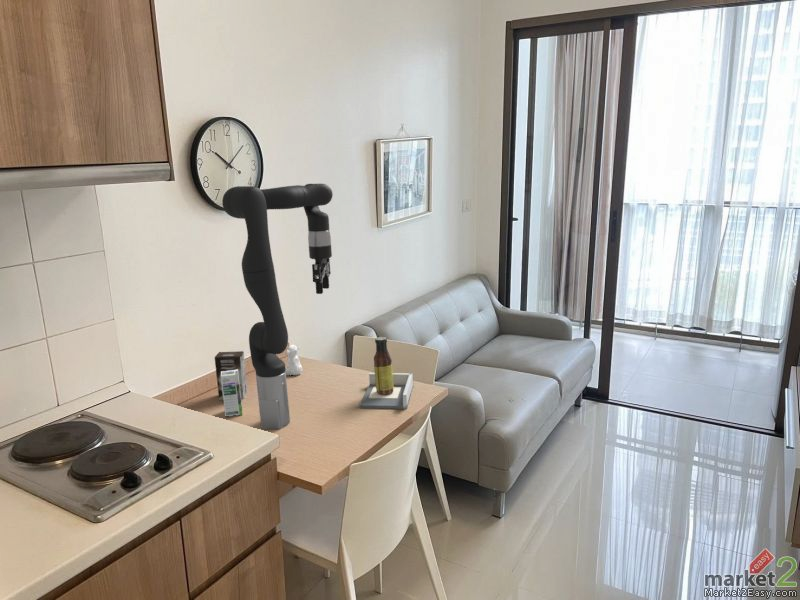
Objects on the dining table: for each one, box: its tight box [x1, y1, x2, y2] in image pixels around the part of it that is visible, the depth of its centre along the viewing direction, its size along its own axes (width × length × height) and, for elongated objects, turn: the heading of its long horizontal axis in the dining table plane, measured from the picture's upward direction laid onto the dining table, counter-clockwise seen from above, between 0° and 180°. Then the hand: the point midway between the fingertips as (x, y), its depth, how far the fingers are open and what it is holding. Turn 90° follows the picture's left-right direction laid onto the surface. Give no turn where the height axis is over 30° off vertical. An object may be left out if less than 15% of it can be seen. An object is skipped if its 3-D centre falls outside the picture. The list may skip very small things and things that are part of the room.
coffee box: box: [214, 350, 248, 401], centre depth 212 cm, size 9×6×16 cm
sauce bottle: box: [373, 336, 394, 395], centre depth 207 cm, size 7×6×20 cm
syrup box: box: [221, 369, 244, 417], centre depth 198 cm, size 6×6×14 cm
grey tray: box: [359, 372, 414, 410], centre depth 208 cm, size 20×16×5 cm
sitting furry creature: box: [285, 344, 303, 376], centre depth 234 cm, size 10×9×12 cm
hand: (322, 290), depth 203 cm, fingers open, 8 cm apart
